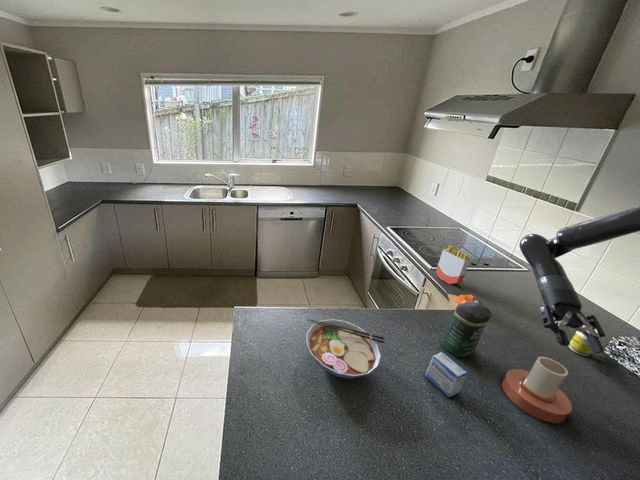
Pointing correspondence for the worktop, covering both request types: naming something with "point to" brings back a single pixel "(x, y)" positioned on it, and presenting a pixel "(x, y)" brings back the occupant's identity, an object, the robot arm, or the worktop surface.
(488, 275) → the worktop surface
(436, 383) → the medicine box
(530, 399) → the terracotta pedestal disc
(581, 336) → the supplement bottle
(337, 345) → the ramen bowl
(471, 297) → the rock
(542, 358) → the cream cup
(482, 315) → the coffee jar
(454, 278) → the french fries container
